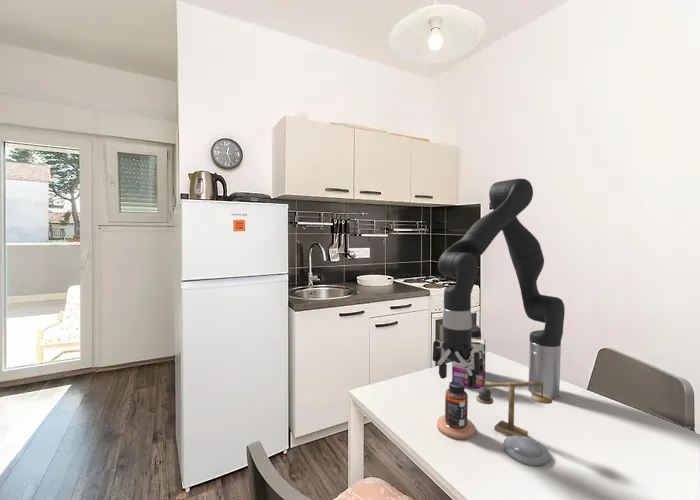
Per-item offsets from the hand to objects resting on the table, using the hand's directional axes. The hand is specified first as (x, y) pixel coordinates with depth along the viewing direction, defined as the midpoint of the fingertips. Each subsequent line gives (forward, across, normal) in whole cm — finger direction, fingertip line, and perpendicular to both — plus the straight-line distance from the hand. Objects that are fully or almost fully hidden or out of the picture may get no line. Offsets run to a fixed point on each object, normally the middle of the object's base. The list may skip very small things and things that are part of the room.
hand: (456, 382), depth 93 cm
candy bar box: (+14, +12, -28) cm, 33 cm away
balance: (+13, -11, -9) cm, 19 cm away
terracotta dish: (+13, 0, 0) cm, 13 cm away
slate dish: (+13, -17, -4) cm, 22 cm away
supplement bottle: (+12, 0, 0) cm, 12 cm away
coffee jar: (+14, +18, -38) cm, 44 cm away
